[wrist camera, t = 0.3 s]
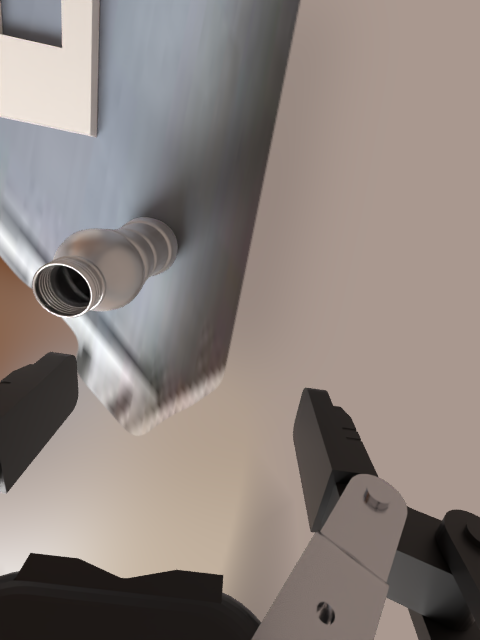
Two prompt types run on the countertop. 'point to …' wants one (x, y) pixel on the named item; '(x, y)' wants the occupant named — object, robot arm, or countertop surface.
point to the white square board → (54, 74)
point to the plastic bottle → (104, 267)
